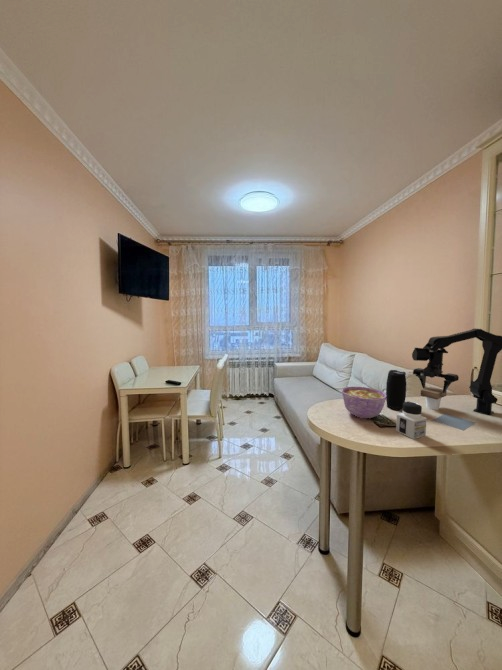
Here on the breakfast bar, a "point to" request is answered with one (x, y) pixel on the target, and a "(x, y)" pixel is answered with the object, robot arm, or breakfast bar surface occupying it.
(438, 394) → the brown rectangular block
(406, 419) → the container
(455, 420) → the rubber mat
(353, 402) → the bowl of food
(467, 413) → the breakfast bar surface
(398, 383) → the portable speaker
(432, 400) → the white cup
